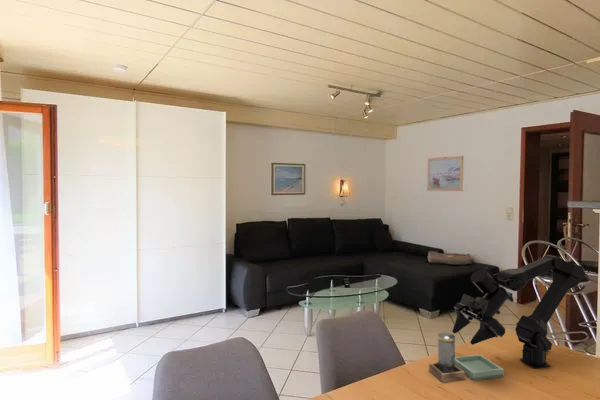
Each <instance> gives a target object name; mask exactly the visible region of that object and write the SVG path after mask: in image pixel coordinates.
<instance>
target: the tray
mask: <svg viewBox="0 0 600 400" xmlns="http://www.w3.org/2000/svg"><path fill="white" fill-rule="evenodd" d="M455 365H456V366H457V367H459V368H460V369H461V370H463V371H464V372H465V377H467V378H469V379H470V380H471V381H473V382H475V381H482V380H483V381H484V380H491V379H492V380H493V379H498V378H499V379H500V378H504V376H505V375H504V372H505V371H504V368H502V367H501V366H499V365H498V364H496V363H495V362H493V361H491V360H490V359H488V358H487V357H485V356H483V355H482V354H478V353H477V354H471V355H465V356H464V355H463V356H455Z"/></svg>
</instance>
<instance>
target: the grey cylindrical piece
mask: <svg viewBox="0 0 600 400" xmlns="http://www.w3.org/2000/svg"><path fill="white" fill-rule="evenodd" d="M437 346H438V347H437V352H438V353H437V356H438V357H437V362H438V369H439V370H440V371H441V372H442V373H450V372H455V357H456V356H455V355H456V352H455V351H456V348H455V347H456V336H455V335H454V333H453V334H452V333H449V332H439V333H437Z"/></svg>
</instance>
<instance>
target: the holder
mask: <svg viewBox="0 0 600 400" xmlns="http://www.w3.org/2000/svg"><path fill="white" fill-rule="evenodd" d="M428 371H429V372H430V373H431V375H434V377H435V378H437V379H438V380H439V381H440V382H441V383H443V384H444V383H451V382H458V381H465V380H466V375H465V372H464V371H463V370H461V369H460V368H459V367H457V366H456V365H455V372H450V373H442V372H441V371H440V370H439V369H438V361H437V362H431V363H428Z"/></svg>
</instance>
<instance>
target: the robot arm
mask: <svg viewBox="0 0 600 400" xmlns="http://www.w3.org/2000/svg"><path fill="white" fill-rule="evenodd" d="M550 271H551V278H552V282H551V284H549V287H548V288H547V290H546V291H545V293H544V294H543V296H542V298H541V299H540V301H539V302H538V304H537V305H536V307H535V308H534V310H533V311H532V313H531V314H530V315H528V316H526V315H521V317H520V319H519V320H518V322H516V323H515V325H516V326H515V328H514V330H515V334H516V336H517V339H518V341H519V342H520V343H522V344H523V345H522V352H521V353H522V355H521V356H522V358H520V357H519V361H521V362H522V363H524V364H526V365H528V366H529V367H531V368H533V369H541V368H548V367H551V365H550V364H549V363H547V352H549V351H551V350H552V346H553V343H552V342H551V341H550V339H549V338H548V339H547V338H546V335H547V336H548V331H549V330H548V322H549V321H550V320H551V318H552V316H553V315H554V314H555V311H556V310H557V308H558V307H559V305H560V304H561V302H562V301H563V299H564V297H565V296H566V294H568V293H567V292H568V291H569V290H570V289H572V288H575V287H577V286H578V285H579V284H580V283H581V282H582V281H583V280H584V278H585V276H586V272H585V270H584V268H583V266H581V265H579V264H575V263H574V264H573V263H572V262H569V261H567V260H564V259H563V258H560V256H556V255H550V254H547V255H544V256H543V257H541V258H538V259H536V260H534V261H531V262H530V263H528V264H527V263H526V264H525V265H523V266H521V267H516V268H507V269H502V270H500V271H498V272H497V273H493V272H492V270H491V269H490V268H489V267H485V266H484V267H482V269H478V270H476V271H473V273H472V275H470V280H471V282H472V283H473V284H474V285H475V287H477V289H478V290H479V291H480V292H481V293H482V294H485V295H484V296H482V297H480V296H476V297H475V298H474V297H472V296H470V295H468V294H466V293H463V295H462V298H461V300H460V302H456V303H455V304H454V306H453V308H454V312H456V313H455V314H456V317H455V318H456V319H455V323H454V324H453V328H452V331H451V332H452V333H453V335H454V334H455V335H456V334H457V333H459V331H461V330H462V329H464V328H465V327H466V326H468V325H469V324H471V321H472V320H475V321H477V322H479V328H478V330H477V331H476V332H475V334H474V336H472V338H471V340H470V342H469V343H470V344H471V345H476V344H478V343H482V342H484V341H487V340H490V339H493V338H498V337H500V338H502V337H503V336H504V335H505V333H506V328H505V327H504V326H503V325H502V323H501V322H500V321H499V320H498V319H496V318H495V317H494V316H495V315H497V316H498V315H499V314H501V311H500V308H501V307H502V306H503V305H504V304H505V303H506V302H507V301H508V302H511V303H513V302H514V297H513V293H512V292H509V291H507V290H510V291H513V292H518V291H520V290H522V289H523V288H524V287H525V286H527V284H528V282H529V281H530V280H533V279H535V278H537V277H539V276H542V275H544V274H546V273H548V272H550Z"/></svg>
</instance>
